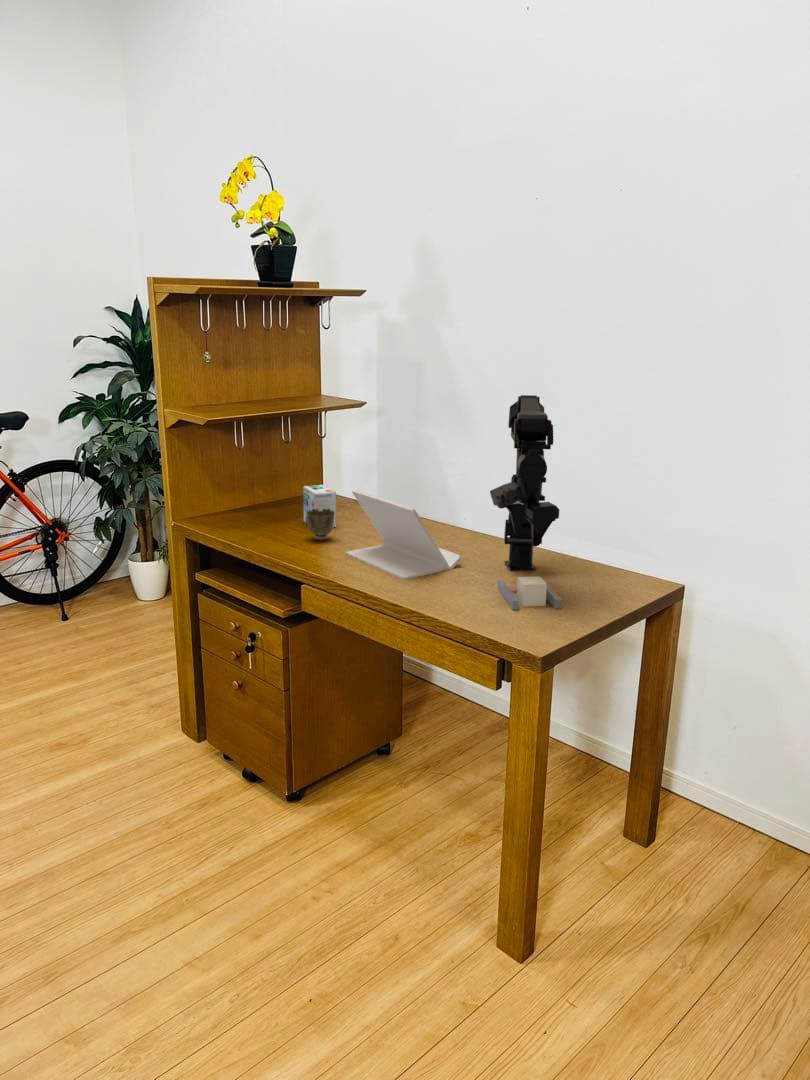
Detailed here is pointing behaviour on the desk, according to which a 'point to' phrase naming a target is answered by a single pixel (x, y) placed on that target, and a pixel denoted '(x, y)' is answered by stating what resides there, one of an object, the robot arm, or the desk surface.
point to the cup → (320, 523)
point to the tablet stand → (401, 540)
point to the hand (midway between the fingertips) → (525, 540)
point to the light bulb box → (319, 500)
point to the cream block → (531, 591)
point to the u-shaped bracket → (513, 601)
